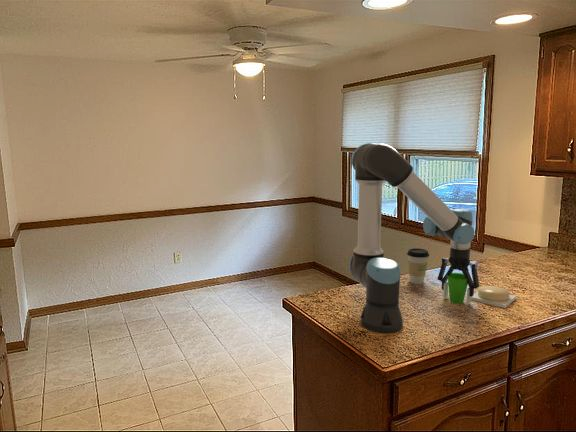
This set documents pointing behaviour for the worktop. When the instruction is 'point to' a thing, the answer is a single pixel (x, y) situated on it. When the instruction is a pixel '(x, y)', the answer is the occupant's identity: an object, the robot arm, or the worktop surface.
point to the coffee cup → (417, 264)
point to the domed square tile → (493, 296)
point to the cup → (457, 287)
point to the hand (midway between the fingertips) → (456, 300)
